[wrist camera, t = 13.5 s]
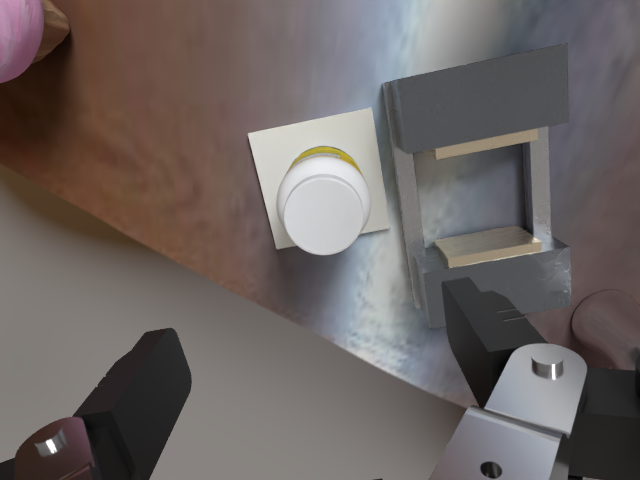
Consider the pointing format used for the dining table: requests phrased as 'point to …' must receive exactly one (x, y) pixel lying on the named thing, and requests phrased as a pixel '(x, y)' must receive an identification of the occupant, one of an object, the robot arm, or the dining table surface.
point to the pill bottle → (323, 201)
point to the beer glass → (610, 327)
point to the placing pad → (336, 131)
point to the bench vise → (473, 136)
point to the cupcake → (28, 34)
